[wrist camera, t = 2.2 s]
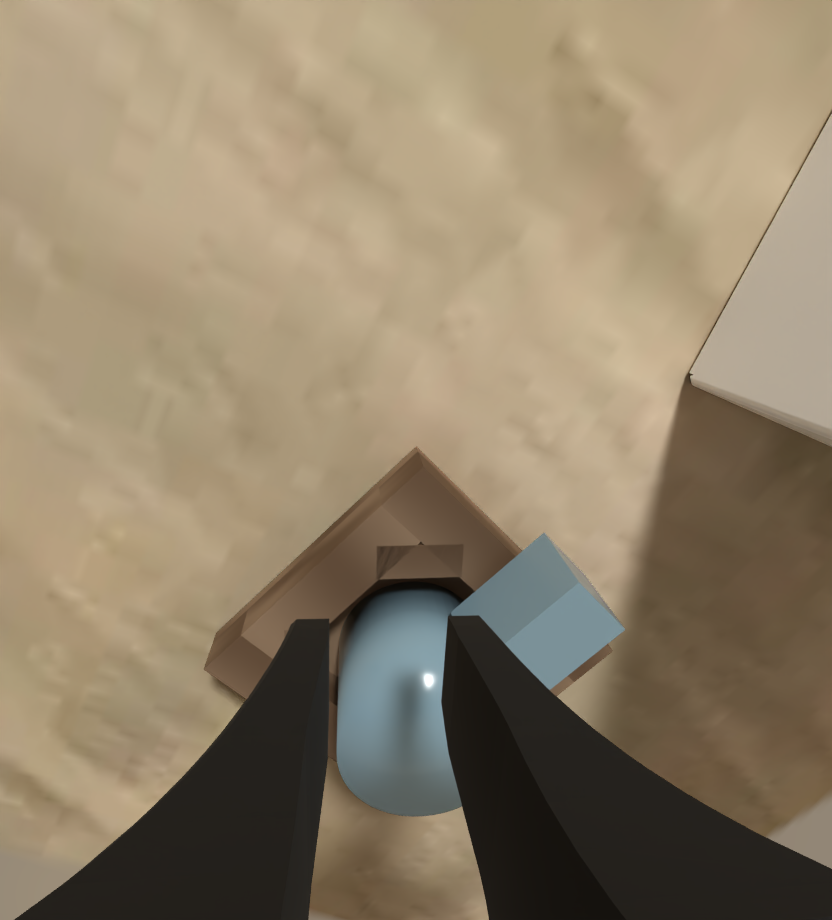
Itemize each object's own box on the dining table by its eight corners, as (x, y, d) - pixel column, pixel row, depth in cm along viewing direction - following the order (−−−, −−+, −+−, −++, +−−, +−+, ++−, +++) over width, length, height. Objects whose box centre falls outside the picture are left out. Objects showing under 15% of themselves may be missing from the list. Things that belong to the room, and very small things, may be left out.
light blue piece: (406, 722, 23) (421, 841, 18) (308, 646, 22) (298, 756, 17) (588, 571, 22) (654, 659, 17) (499, 478, 20) (545, 547, 15)
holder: (405, 770, 25) (410, 813, 23) (216, 632, 21) (203, 669, 20) (591, 618, 23) (612, 651, 21) (416, 446, 20) (423, 466, 18)
